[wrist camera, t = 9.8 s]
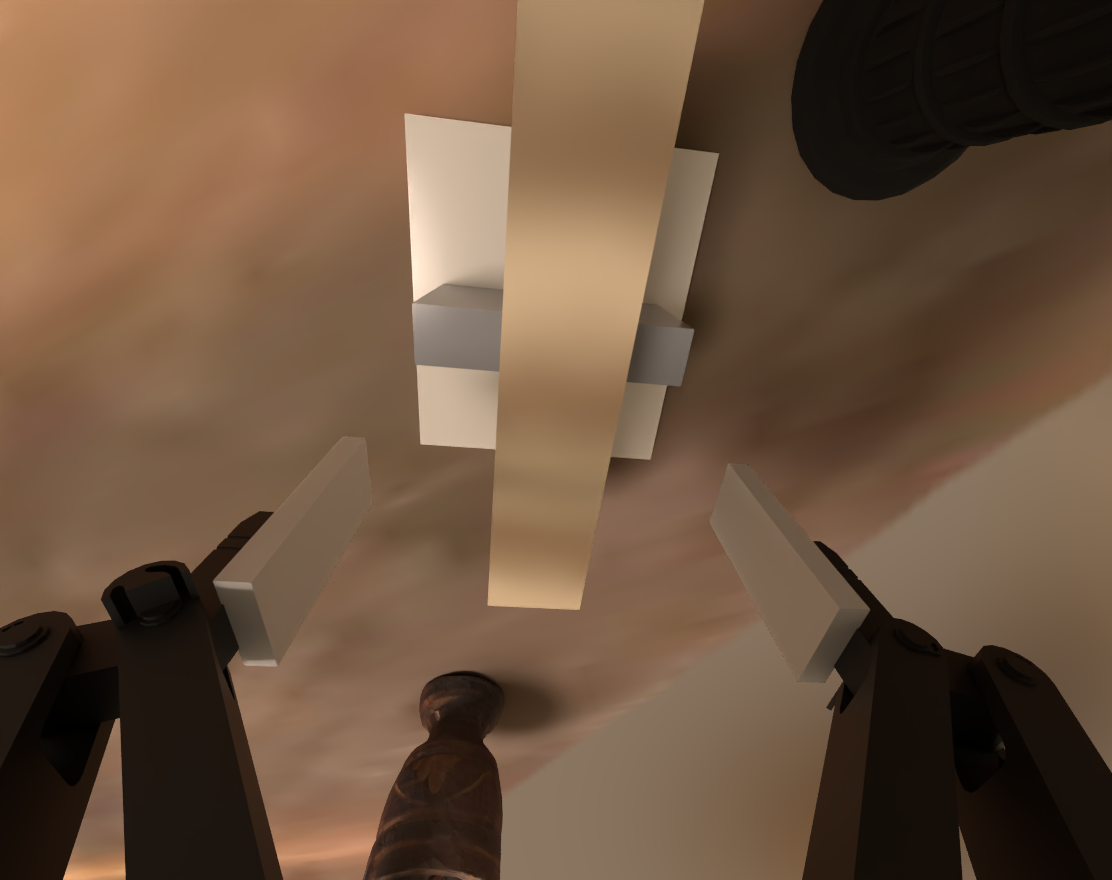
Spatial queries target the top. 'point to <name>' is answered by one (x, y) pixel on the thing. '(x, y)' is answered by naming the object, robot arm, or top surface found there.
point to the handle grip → (942, 84)
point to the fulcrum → (478, 280)
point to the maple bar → (576, 269)
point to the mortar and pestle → (445, 792)
